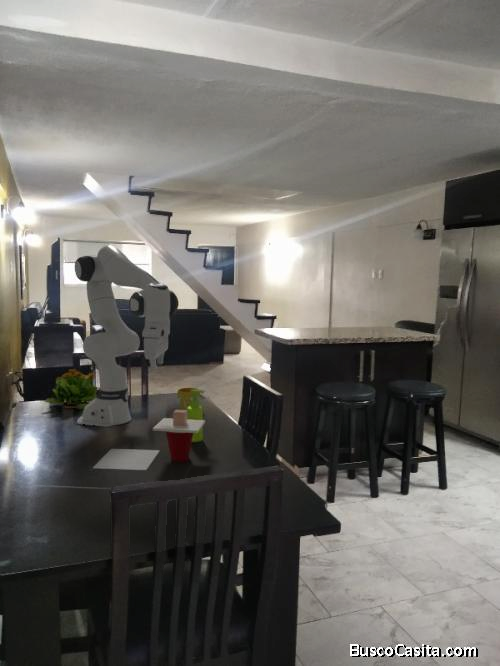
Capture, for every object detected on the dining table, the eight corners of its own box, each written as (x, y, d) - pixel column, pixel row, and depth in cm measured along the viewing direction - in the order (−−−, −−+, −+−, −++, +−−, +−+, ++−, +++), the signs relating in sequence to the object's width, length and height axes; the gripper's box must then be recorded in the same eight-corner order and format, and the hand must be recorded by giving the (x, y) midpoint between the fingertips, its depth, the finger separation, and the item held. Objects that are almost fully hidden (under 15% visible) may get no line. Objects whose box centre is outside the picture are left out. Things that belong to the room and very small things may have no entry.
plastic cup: (201, 457, 177) (201, 424, 175) (185, 468, 167) (184, 433, 165) (175, 452, 181) (175, 420, 180) (158, 462, 172) (157, 428, 170)
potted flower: (48, 416, 224) (46, 378, 221) (39, 404, 244) (37, 368, 241) (104, 408, 237) (103, 372, 235) (91, 397, 257) (90, 363, 254)
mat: (92, 469, 165) (92, 468, 165) (111, 450, 183) (111, 448, 183) (146, 471, 164) (146, 470, 164) (159, 451, 182) (159, 450, 182)
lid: (152, 430, 166) (153, 414, 165) (163, 420, 181) (164, 405, 180) (197, 433, 165) (198, 417, 164) (205, 422, 180) (205, 407, 179)
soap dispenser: (202, 443, 190) (202, 392, 188) (185, 442, 192) (184, 391, 189) (207, 438, 196) (206, 388, 193) (190, 437, 197) (189, 387, 195)
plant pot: (194, 406, 242) (194, 386, 241) (203, 411, 233) (203, 390, 232) (174, 409, 237) (173, 388, 236) (182, 414, 228) (182, 393, 227)
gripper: (156, 324, 190) (155, 360, 192) (140, 332, 170) (140, 372, 172) (172, 325, 189) (172, 361, 192) (159, 333, 169) (158, 373, 171)
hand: (156, 366), depth 182 cm, fingers open, 8 cm apart
